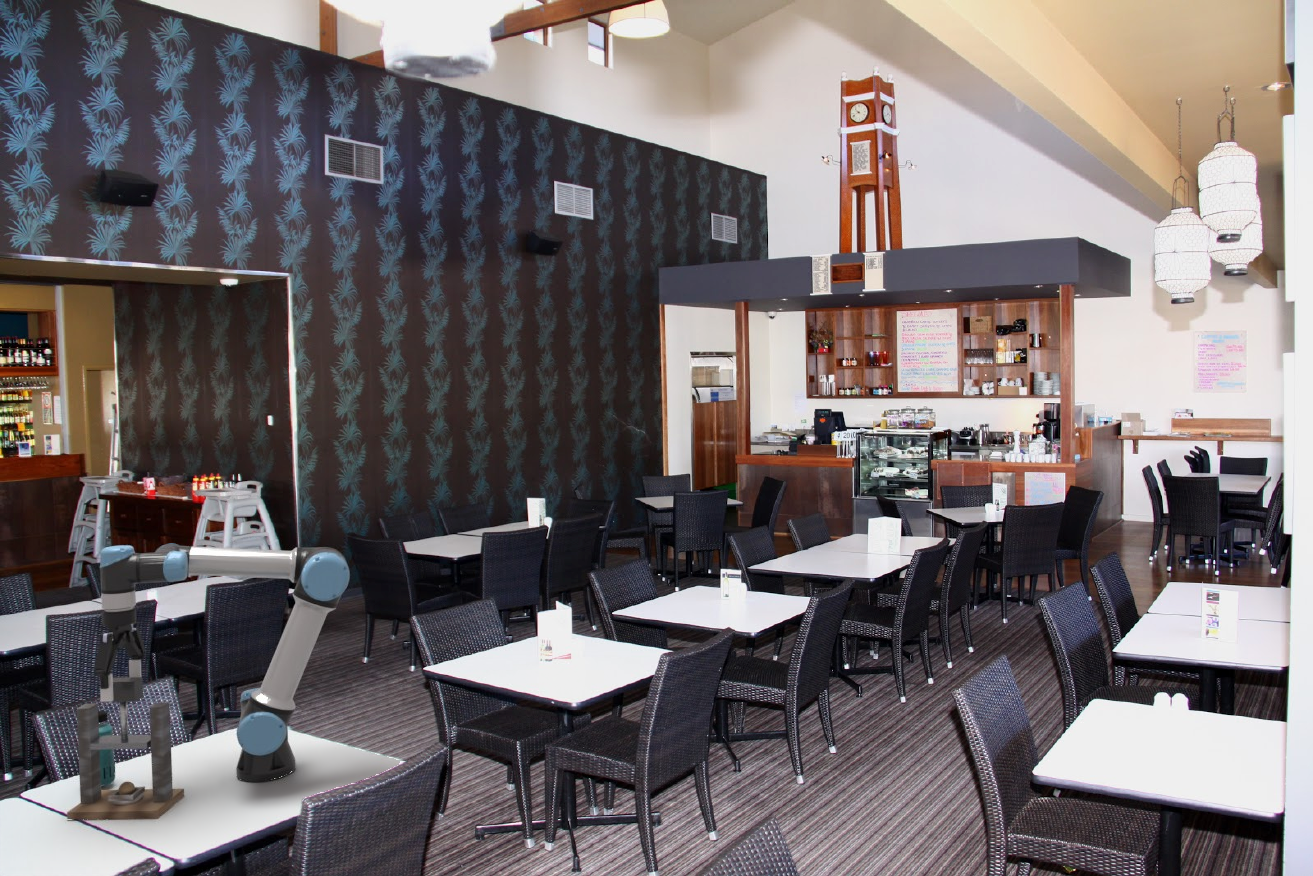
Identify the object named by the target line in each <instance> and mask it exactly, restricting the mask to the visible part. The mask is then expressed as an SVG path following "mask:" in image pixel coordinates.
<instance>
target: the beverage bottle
mask: <svg viewBox="0 0 1313 876" xmlns="http://www.w3.org/2000/svg"><path fill="white" fill-rule="evenodd" d="M108 720H109V717H108V712H107V711H98V723H99V738H100V737H102V736H106V735H114V734H113V733H114V732H113V731H114V727H113V726H112V725H111V724H109V723H106V721H108ZM100 772H101V787H102V786H107V785H110V784H112V783H114V782H115V779H116V763H115V749H100Z"/></svg>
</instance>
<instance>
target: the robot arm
mask: <svg viewBox="0 0 1313 876" xmlns="http://www.w3.org/2000/svg"><path fill="white" fill-rule="evenodd" d="M99 564H100V565H99V572H100V573H99V574H100V589H101V590H100V593H101V596H100V599H101V609H103V611H101V624H102V626H103V627H105V628H107V633H106V632H105V633H100V635H99V646H98V650H97V654H96V660H95V664H94V669H93V675H94V676H99V691H100V692H99V693H100V702H101V703H113V702H112V701H113V678H114V677H113V673H112V669H113V667H114V664H115V661H116V659H117V656H118V652H119V651H120V650H121V649H122V647H123V648H124V649H125V651H126V652H127V654H128V656H129V657H130V659H129V660H128V669H129V671H128V672H129V673H128V674H129V676H128V677H142V660H144V659H146V653H147V650H146V648H145V645H144V641H143V638H142V635H141V632H140V629H139V627H140V626H139V622H138V621H137V608H136V607H135V606H136V605H137V598H136V597H137V595H136V585H137V584H151V583H153V584H154V583H168V582H169V583H174V582H180V581H185V580H186V579H187V577H188V576H189V575H190V576H191V575H192V576H212V577H213V576H214V577H215V576H216V577H219V576H220V577H237V578H238V577H239V578H262V579H267V578H268V579H286V580H289V581H291V583H293V584H296V585H295V588H294V590H293V593H292V597H293V599H294V602H295V604H294V605H293V609H292V611H291V613H290V615H289V617H288V620H287V622H286V624H285V627H284V629H283V632H282V634H281V637H280V639H279V642H278V644H277V646H276V649H275V652H274V654H273V656H272V659H271V662H270V663H269V667H268V668H267V672H266V673H265V676H264V678H263V681H262V683H261V685H260V687H256V688H250V689H247V690H244V691H243V692H242V693H241V694H240V700H239V702H240V709H241V711H240V718H239V722H238V725H237V727H236V738H237V741H238V744H239V745H240V747H241V751H240V753H239V758H238V761H237V764H236V769H235V772H236V773H235V774H236V775H237V776H236V778H237V779H238V778H239V779H238V780H240V779H241V780H240V781H242V780H243V781H244V782H247V783H248V782H249V783H257V782H258V783H259V782H260V783H261V781H262V782H269V781H272V780H271V779H274V778H278V779H280V778H279V777H281V776H284V775H286V774H289V773H290V772H291V771H293V770H294V769H295V767H296V766H297V765H296V763H297V762H296V757H295V755H294V753H293V750H292V748H291V745H290V742H289V735H288V733H289V731H288V729H289V728H288V727H289V724H290V722H291V719H292V716H293V714H294V712H295V710H296V704H295V702H294V696H295V693H296V691H297V689H298V686H299V684H300V681H301V679H302V677H303V674H304V671H305V669H306V667H307V665H308V662H309V659H310V657H311V656H312V655H311V654H312V652H313V650H314V647H315V645H316V642H317V640H318V637H319V634H320V633H321V630H322V627H323V625H324V623H325V620H326V617H327V616H328V614H329V613H330V612H332V611H334V610H337V606H338V604H339V601H340V599H341V597H342V595H343V593H344V592H345V590H346V589H347V587H348V585H349V582H350V577H351V575H350V568H349V565H348V562H347V559H346V558H345V556H344V554H342V553H341V552H340V551H339V550H337V549H335V548H332V547H326V546H323V547H321V546H320V547H299V546H298V547H296V546H295V548H293V549H292V550H279V549H278V550H277V549H276V550H275V549H256V548H253V549H252V548H236V547H233V548H232V547H213V546H192V545H191V546H190V545H188V546H187V545H179V544H176V543H166V544H164V545H161V546H160V547H158V548H157V549H156V550H155V552H146V553H145V552H144V553H139V552H135V548H134V546H132V545H128V544H126V545H123V544H122V545H113V546H112V545H111V546H107V547H104V548H102V550H100V561H99ZM296 768H297V767H296ZM295 770H296V769H295ZM295 770H294V771H295ZM294 771H293V772H294ZM289 775H290V774H289ZM284 777H285V776H284ZM281 778H282V777H281ZM268 780H269V781H268ZM274 780H275V779H274ZM243 781H242V782H243Z"/></svg>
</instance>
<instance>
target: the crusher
mask: <svg viewBox="0 0 1313 876" xmlns="http://www.w3.org/2000/svg"><path fill="white" fill-rule="evenodd" d="M143 681H144V680H143V677H142V676H141V677H129V676H128V677H113V701H112V702H111V703H119V715H120V716H119V720H120V721H119V722H120V735H117V734H116V735H114V734H113V735H106V736H102V737H100V738H98V739H97V740H95V741H94V742H92V743H90V750H100V749H114V750H141V749H143V750H144V749H145V750H147V749H148V748H151V734H129V725H128V723H129V721H128V718H129V717H128V703H129V702H132V703H134V702H138V701H139V700H141V699H142V698H144V685H143V684H144V683H143Z"/></svg>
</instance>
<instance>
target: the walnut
mask: <svg viewBox="0 0 1313 876" xmlns="http://www.w3.org/2000/svg"><path fill="white" fill-rule="evenodd" d="M135 787H136V786H135V784H134V783H133V782H131V781H124V782H122V783H121V784H120V785H119V787H118V789H119V794H120V795H131V794H133V792H134V790H135Z"/></svg>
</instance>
